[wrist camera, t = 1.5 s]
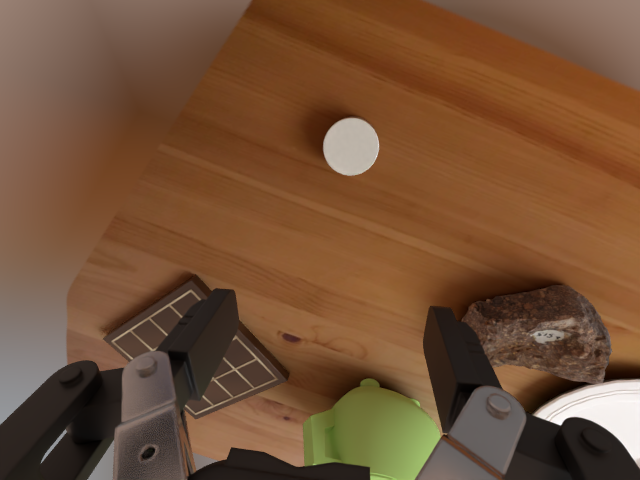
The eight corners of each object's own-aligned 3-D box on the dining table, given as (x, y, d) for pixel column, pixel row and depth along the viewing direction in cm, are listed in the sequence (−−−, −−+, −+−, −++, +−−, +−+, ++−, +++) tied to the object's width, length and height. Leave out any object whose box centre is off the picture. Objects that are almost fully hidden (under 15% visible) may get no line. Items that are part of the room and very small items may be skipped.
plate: (727, 457, 37) (744, 474, 35) (544, 490, 44) (552, 505, 42) (689, 340, 31) (708, 354, 29) (485, 400, 38) (491, 414, 37)
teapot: (473, 412, 39) (517, 539, 28) (412, 460, 45) (428, 582, 34) (337, 345, 38) (326, 452, 26) (292, 404, 43) (267, 513, 32)
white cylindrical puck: (316, 137, 27) (312, 140, 25) (359, 104, 26) (359, 105, 24) (344, 179, 29) (342, 185, 27) (387, 150, 27) (389, 155, 25)
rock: (452, 346, 35) (472, 396, 30) (450, 291, 32) (472, 335, 26) (576, 334, 33) (623, 386, 27) (587, 274, 30) (643, 318, 24)
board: (109, 332, 42) (101, 339, 41) (196, 274, 36) (190, 280, 35) (199, 412, 47) (195, 420, 46) (289, 373, 41) (287, 381, 40)
